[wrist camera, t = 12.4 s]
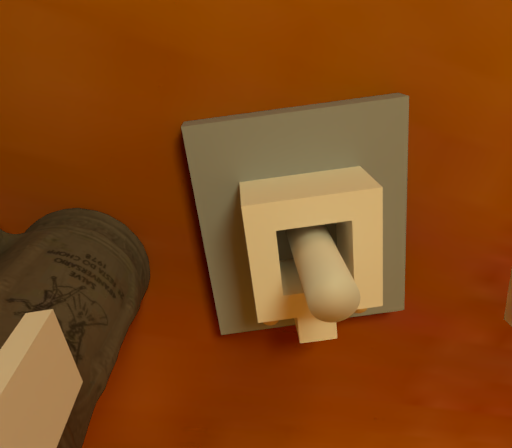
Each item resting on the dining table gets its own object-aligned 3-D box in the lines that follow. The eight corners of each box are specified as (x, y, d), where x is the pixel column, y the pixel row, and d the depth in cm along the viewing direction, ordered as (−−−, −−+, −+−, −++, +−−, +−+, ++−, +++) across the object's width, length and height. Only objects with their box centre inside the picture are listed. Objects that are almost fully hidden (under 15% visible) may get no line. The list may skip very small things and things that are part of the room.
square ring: (239, 182, 31) (241, 206, 26) (360, 165, 31) (382, 187, 27) (259, 325, 36) (264, 366, 32) (363, 311, 36) (382, 350, 32)
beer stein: (183, 261, 36) (106, 478, 17) (115, 343, 38) (-15, 607, 20) (18, 146, 32) (-310, 262, 13) (-43, 247, 35) (-383, 457, 16)
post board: (183, 121, 31) (158, 165, 20) (398, 92, 31) (490, 120, 20) (221, 320, 38) (218, 433, 27) (395, 297, 38) (462, 399, 27)
